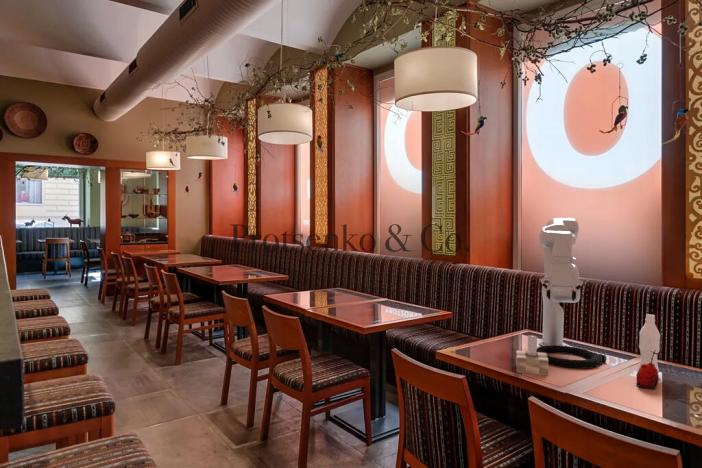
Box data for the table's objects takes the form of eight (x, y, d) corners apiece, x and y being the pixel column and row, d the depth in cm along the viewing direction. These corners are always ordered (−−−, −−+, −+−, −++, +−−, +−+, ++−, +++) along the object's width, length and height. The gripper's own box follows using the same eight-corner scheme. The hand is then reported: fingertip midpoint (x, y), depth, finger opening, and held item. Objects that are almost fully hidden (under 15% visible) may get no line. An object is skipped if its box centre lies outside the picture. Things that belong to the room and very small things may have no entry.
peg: (526, 367, 204) (527, 335, 203) (535, 368, 203) (536, 335, 202) (527, 370, 200) (528, 337, 200) (536, 371, 199) (537, 337, 199)
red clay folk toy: (646, 382, 187) (647, 344, 186) (663, 389, 180) (664, 349, 180) (631, 384, 184) (633, 346, 184) (648, 391, 178) (649, 351, 177)
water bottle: (635, 375, 196) (637, 314, 195) (641, 371, 200) (643, 312, 199) (655, 379, 190) (657, 317, 189) (661, 376, 195) (663, 315, 194)
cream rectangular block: (516, 363, 209) (516, 350, 209) (545, 366, 205) (546, 352, 205) (516, 372, 198) (517, 357, 197) (548, 375, 194) (548, 360, 194)
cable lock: (529, 342, 233) (596, 346, 226) (529, 350, 233) (596, 354, 227) (540, 358, 205) (616, 363, 199) (539, 367, 206) (615, 372, 200)
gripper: (582, 260, 209) (581, 299, 210) (540, 259, 215) (539, 296, 215) (585, 262, 202) (584, 302, 203) (541, 260, 208) (540, 299, 208)
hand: (560, 299), depth 209 cm, fingers open, 9 cm apart
